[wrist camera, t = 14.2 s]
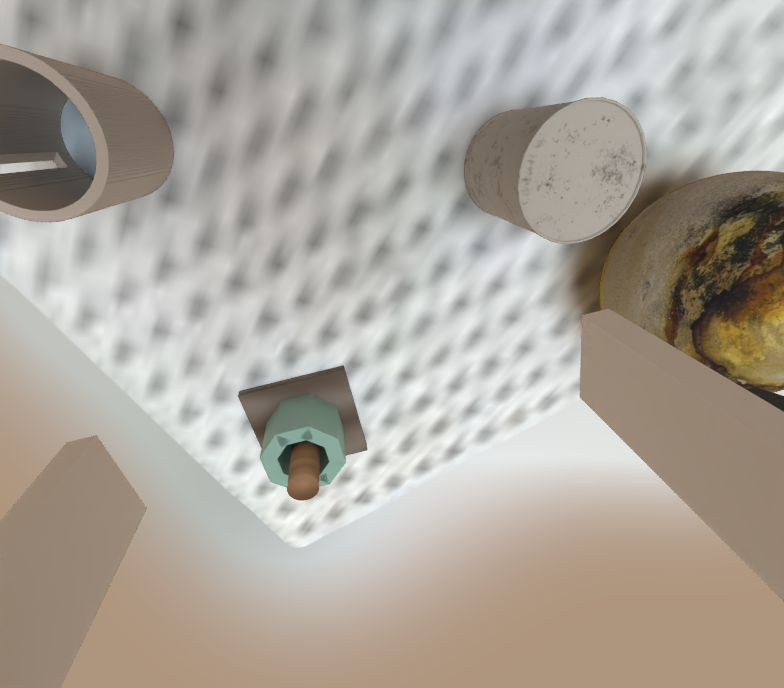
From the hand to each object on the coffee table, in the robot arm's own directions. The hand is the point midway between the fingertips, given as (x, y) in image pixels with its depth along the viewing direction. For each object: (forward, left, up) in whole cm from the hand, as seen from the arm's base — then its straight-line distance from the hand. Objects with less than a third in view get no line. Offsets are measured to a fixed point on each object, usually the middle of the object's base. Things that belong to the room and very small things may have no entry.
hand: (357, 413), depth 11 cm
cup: (-10, -16, -32) cm, 37 cm away
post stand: (+22, -9, -32) cm, 40 cm away
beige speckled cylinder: (-1, +18, -32) cm, 37 cm away
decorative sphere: (+12, +33, -32) cm, 47 cm away
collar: (+22, -9, -31) cm, 39 cm away
